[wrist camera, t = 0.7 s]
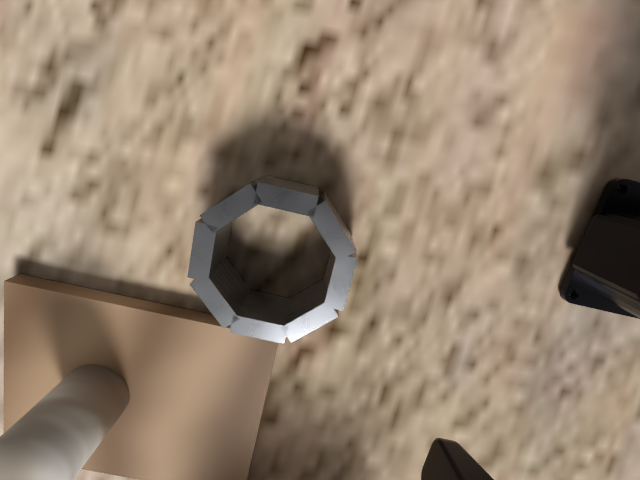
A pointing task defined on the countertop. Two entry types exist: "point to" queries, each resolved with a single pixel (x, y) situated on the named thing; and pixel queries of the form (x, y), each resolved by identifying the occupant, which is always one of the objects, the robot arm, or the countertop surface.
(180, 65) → the countertop surface
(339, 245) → the hollow octagonal tube
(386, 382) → the countertop surface
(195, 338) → the tan board with peg
